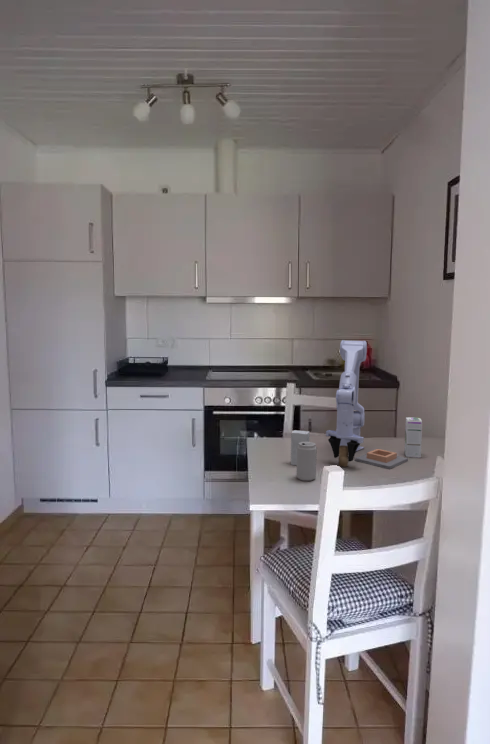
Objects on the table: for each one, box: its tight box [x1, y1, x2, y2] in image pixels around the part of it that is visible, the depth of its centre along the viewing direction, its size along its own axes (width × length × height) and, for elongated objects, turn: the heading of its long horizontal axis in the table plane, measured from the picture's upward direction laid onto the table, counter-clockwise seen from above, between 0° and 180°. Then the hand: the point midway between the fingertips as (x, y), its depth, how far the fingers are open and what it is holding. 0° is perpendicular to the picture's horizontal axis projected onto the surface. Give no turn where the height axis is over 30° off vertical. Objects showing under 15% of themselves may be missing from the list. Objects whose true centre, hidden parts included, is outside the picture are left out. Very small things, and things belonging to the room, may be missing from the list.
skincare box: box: [290, 429, 311, 466], centre depth 185 cm, size 6×4×12 cm
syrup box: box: [403, 416, 423, 459], centre depth 197 cm, size 6×6×14 cm
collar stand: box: [354, 448, 409, 470], centre depth 191 cm, size 14×14×3 cm
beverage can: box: [296, 441, 318, 482], centre depth 169 cm, size 6×6×12 cm
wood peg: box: [338, 445, 349, 468], centre depth 184 cm, size 3×3×7 cm
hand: (343, 458), depth 184 cm, fingers open, 5 cm apart
